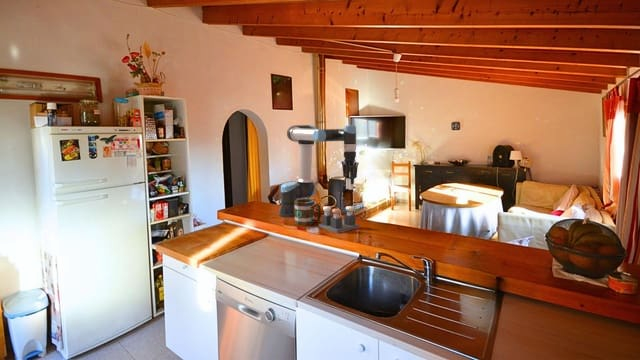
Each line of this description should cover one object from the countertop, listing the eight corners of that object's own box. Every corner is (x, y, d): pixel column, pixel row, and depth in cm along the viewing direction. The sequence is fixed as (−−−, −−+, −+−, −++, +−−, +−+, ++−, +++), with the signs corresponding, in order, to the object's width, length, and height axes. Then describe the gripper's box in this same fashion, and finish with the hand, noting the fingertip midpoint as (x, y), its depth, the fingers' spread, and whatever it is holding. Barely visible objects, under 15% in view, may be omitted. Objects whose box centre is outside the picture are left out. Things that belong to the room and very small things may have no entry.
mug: (290, 223, 228) (289, 201, 226) (302, 219, 239) (302, 198, 237) (314, 228, 217) (313, 204, 215) (326, 223, 228) (326, 201, 225)
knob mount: (318, 226, 220) (318, 214, 219) (339, 222, 231) (339, 210, 230) (336, 233, 206) (336, 220, 205) (358, 227, 217) (358, 215, 216)
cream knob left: (344, 219, 218) (344, 206, 217) (350, 218, 221) (350, 205, 220) (349, 221, 214) (349, 208, 213) (355, 219, 217) (355, 207, 216)
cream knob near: (321, 219, 218) (321, 207, 217) (327, 218, 221) (327, 205, 220) (326, 221, 214) (326, 208, 213) (332, 219, 217) (332, 207, 216)
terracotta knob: (330, 222, 211) (330, 209, 210) (336, 221, 214) (336, 208, 213) (336, 224, 207) (335, 210, 206) (342, 222, 210) (342, 209, 209)
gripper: (337, 150, 215) (337, 188, 218) (353, 151, 203) (353, 191, 206) (346, 150, 220) (346, 186, 223) (363, 151, 208) (362, 189, 211)
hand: (349, 188), depth 215 cm, fingers open, 2 cm apart
